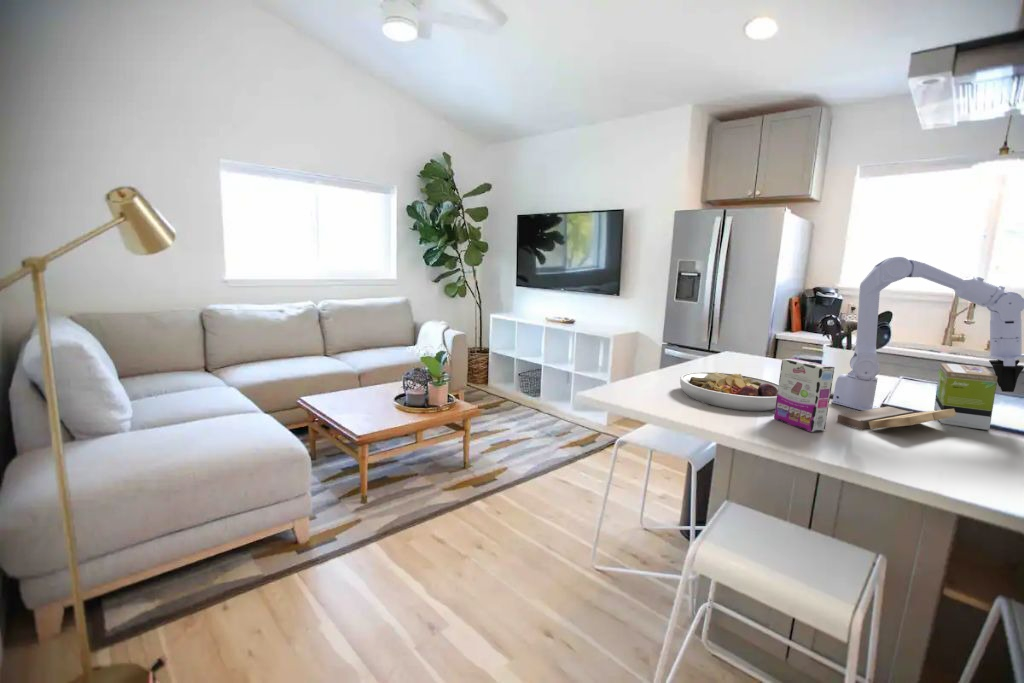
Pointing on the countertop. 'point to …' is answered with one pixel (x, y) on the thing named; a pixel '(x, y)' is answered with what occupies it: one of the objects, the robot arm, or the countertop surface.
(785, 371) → the candy bar box
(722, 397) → the bowl
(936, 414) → the plank
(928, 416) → the plank
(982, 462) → the countertop surface
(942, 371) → the tea box
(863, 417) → the floor board
